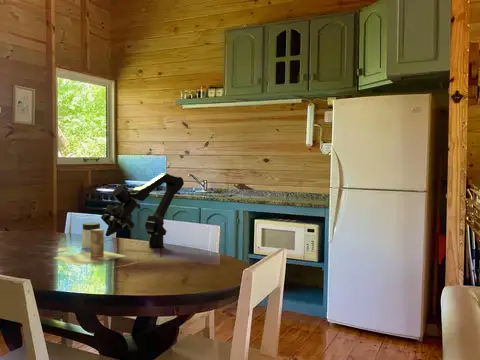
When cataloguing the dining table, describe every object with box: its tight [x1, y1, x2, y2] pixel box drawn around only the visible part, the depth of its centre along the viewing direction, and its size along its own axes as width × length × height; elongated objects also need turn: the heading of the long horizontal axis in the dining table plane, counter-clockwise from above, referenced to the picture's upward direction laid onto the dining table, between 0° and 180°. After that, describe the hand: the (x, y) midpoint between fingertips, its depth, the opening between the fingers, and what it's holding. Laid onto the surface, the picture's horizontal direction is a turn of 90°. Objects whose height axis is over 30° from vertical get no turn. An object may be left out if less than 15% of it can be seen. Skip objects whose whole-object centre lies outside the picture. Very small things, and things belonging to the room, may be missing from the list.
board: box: [53, 250, 125, 266], centre depth 199 cm, size 24×20×1 cm
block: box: [90, 228, 105, 258], centre depth 199 cm, size 4×4×12 cm
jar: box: [81, 221, 101, 249], centre depth 221 cm, size 9×8×12 cm
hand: (106, 235), depth 203 cm, fingers closed
